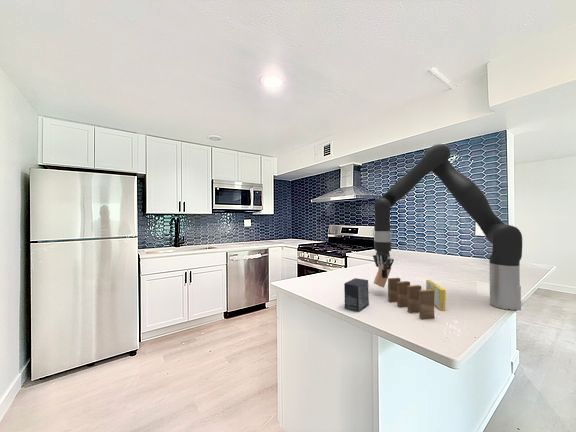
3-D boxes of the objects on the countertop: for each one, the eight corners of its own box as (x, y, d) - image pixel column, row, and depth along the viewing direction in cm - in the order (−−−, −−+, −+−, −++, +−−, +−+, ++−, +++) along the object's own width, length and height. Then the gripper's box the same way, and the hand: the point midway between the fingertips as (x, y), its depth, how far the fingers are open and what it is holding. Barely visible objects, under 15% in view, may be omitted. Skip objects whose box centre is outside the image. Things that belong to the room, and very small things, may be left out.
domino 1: (373, 283, 115) (380, 263, 116) (381, 286, 116) (389, 267, 117) (375, 284, 113) (383, 264, 114) (383, 287, 114) (391, 268, 116)
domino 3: (397, 306, 101) (396, 281, 101) (407, 305, 102) (407, 281, 102) (399, 307, 99) (399, 282, 99) (410, 306, 100) (410, 282, 100)
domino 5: (419, 317, 89) (419, 290, 89) (430, 316, 90) (430, 289, 90) (422, 319, 87) (422, 291, 87) (434, 318, 88) (434, 290, 88)
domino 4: (407, 311, 95) (407, 285, 95) (418, 310, 96) (418, 284, 96) (410, 313, 93) (410, 286, 93) (421, 311, 94) (421, 286, 94)
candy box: (445, 311, 95) (445, 289, 95) (439, 310, 96) (439, 289, 96) (430, 297, 111) (430, 279, 111) (425, 297, 112) (425, 279, 112)
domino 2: (388, 301, 106) (387, 278, 107) (398, 300, 108) (397, 277, 108) (390, 302, 105) (390, 279, 105) (400, 301, 106) (400, 278, 106)
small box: (354, 301, 107) (354, 277, 107) (369, 304, 102) (369, 279, 103) (343, 308, 98) (343, 282, 98) (359, 312, 94) (358, 285, 94)
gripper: (399, 241, 110) (399, 280, 110) (380, 239, 123) (381, 273, 123) (384, 242, 108) (385, 281, 108) (367, 239, 121) (368, 274, 121)
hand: (383, 277), depth 115 cm, fingers closed on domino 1, 1 cm apart
